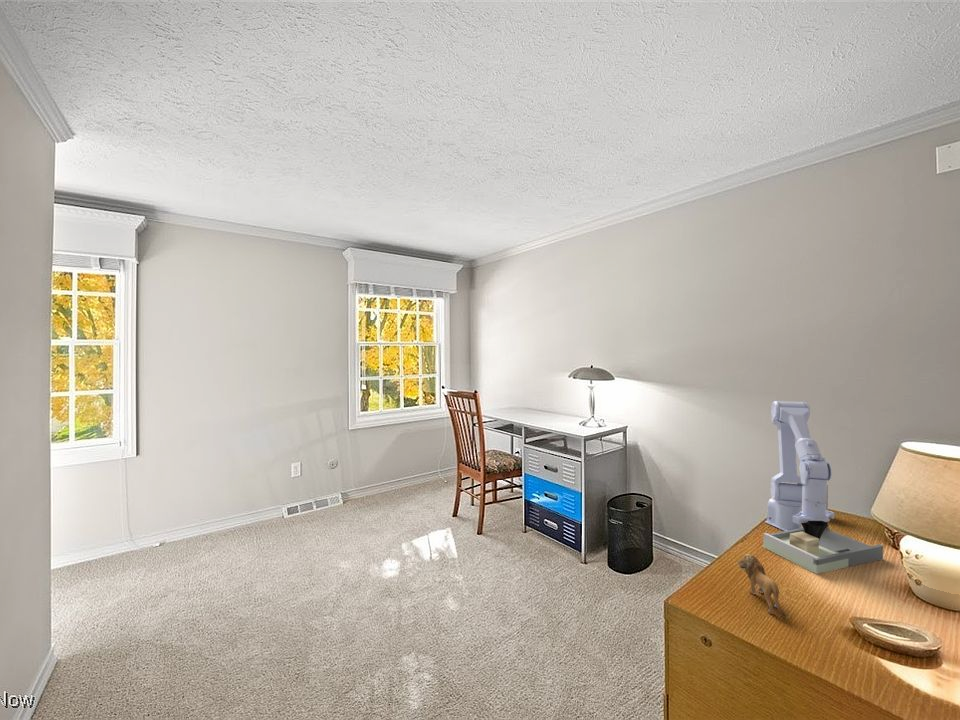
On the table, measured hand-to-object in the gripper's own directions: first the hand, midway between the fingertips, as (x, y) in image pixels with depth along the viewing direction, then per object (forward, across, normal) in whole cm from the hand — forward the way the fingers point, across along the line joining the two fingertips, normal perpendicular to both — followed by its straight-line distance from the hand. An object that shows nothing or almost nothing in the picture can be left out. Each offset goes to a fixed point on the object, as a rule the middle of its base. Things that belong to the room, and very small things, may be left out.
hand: (812, 543), depth 128 cm
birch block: (+1, -4, 0) cm, 4 cm away
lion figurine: (+4, -35, -12) cm, 37 cm away
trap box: (+3, +4, 0) cm, 5 cm away
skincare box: (+4, +31, +21) cm, 38 cm away
